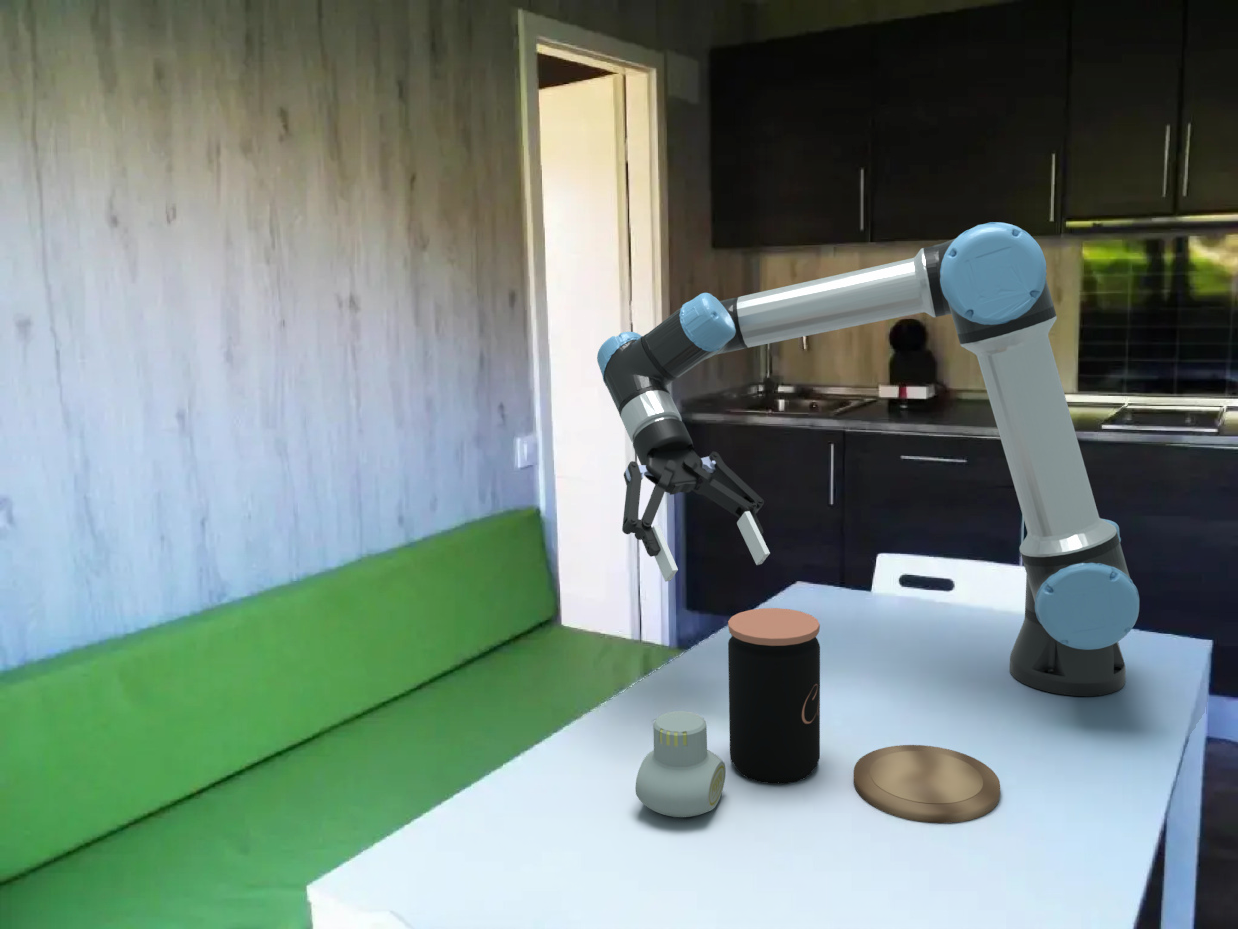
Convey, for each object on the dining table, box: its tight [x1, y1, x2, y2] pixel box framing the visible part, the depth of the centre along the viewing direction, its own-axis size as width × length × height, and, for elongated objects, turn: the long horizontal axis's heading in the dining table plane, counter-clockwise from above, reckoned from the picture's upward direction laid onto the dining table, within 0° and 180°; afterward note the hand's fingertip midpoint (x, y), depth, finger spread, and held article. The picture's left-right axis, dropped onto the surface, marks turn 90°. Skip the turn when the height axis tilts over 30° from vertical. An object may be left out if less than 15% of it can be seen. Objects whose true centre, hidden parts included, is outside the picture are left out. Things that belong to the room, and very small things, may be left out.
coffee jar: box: [727, 607, 821, 785], centre depth 125 cm, size 11×11×18 cm
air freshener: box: [635, 710, 726, 818], centre depth 117 cm, size 11×8×10 cm
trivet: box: [853, 744, 1001, 824], centre depth 120 cm, size 16×16×1 cm
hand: (718, 567), depth 132 cm, fingers open, 13 cm apart
